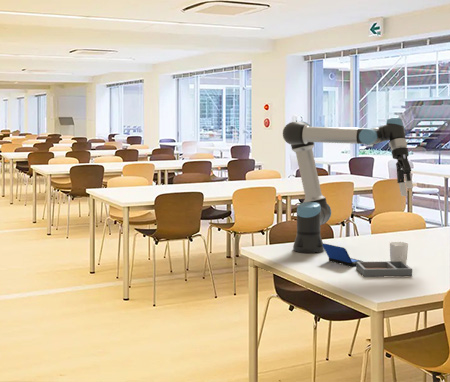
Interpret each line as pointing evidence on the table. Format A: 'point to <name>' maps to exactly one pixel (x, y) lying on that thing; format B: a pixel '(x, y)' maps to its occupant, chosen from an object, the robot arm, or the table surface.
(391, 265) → the walled box
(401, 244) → the white cup
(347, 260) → the handheld game console
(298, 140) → the robot arm
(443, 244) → the table surface
